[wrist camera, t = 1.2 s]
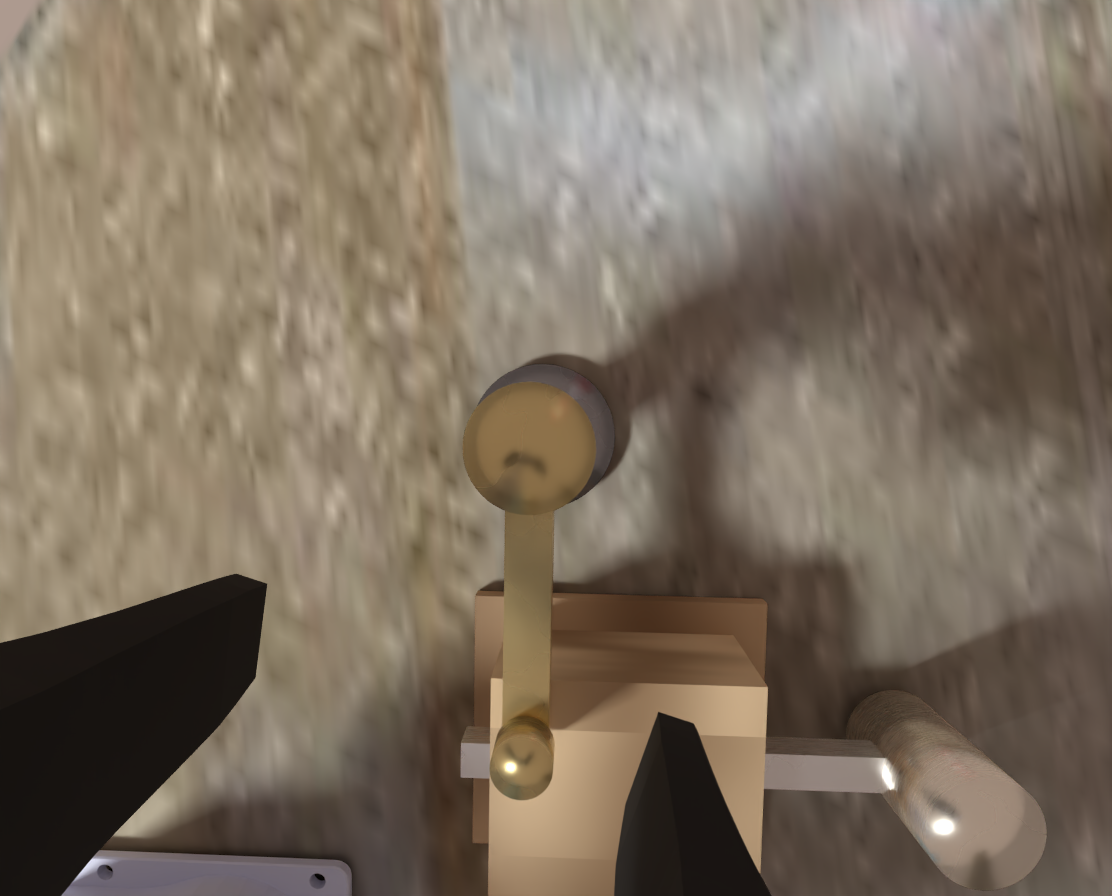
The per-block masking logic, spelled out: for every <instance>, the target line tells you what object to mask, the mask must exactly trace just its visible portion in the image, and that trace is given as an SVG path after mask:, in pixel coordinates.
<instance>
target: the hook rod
mask: <svg viewBox="0 0 1112 896" xmlns="http://www.w3.org/2000/svg"><path fill="white" fill-rule="evenodd" d="M846 739H847V740H846ZM846 739H818V738H789V737H766V748H765V772H764V789H781V790H808V791H835V792H862V793H881V795H882V796H883V797H884V798H885V800H886V801H887V802H888V804H889V805H890V806H891V808H892V809H893V810H894V811H895V813H896V814H897V815H898V817H899V818H900V819H901V821H902V822H903V823H904V824H905V826H906V827H907V828H908V830H909V831H910V832H911V834H912V835H913V836H914V837H915V839H916V840H917V841H918V843H919V844H920V845H921V847H922V848H923V849H924V850H925V852H926V853H927V854H928V856H929V857H930V858H931V860H932V861H933V862H934V863H935V865H936V866H937V867H938V869H939V870H940V871H941V872H942V873H943V874H944V875H945V876H946V877H947V878H949V879H950V880H952V881H953V882H955V883H957V884H959V885H961V886H963V887H966V888H969V889H974V890H982V891H989V890H998V889H1002V888H1005V887H1008V886H1011V885H1013V884H1015V883H1017V882H1018V881H1020V880H1022V879H1023V878H1024V877H1026V876H1027V875H1028V874H1029V873H1030V872H1031V871H1032V870H1033V869H1034V867H1035V866H1036V865H1037V863H1038V862H1039V860H1040V858H1041V856H1042V854H1043V852H1044V848H1045V845H1046V839H1047V828H1046V821H1045V818H1044V814H1043V812H1042V810H1041V808H1040V806H1039V805H1038V803H1037V802H1036V800H1035V799H1034V798H1033V797H1032V796H1031V795H1030V794H1029V793H1028V792H1027V791H1026V790H1025V789H1024V788H1022V787H1021V786H1020V785H1019V784H1018V783H1017V782H1016V781H1014V780H1013V779H1012V778H1011V777H1010V776H1009V775H1008V774H1006V773H1005V772H1004V771H1003V770H1002V769H1001V768H1000V767H998V766H997V765H996V764H995V763H994V762H993V761H991V760H990V759H989V758H988V757H987V756H986V755H985V754H983V753H982V752H981V751H980V750H979V749H978V748H977V747H975V746H974V745H973V744H972V743H971V742H970V741H969V740H967V739H966V738H965V737H964V736H963V735H962V734H960V733H959V732H958V731H957V730H956V729H955V728H954V727H952V726H951V725H950V724H949V723H948V722H947V721H946V720H944V719H943V718H942V717H941V716H940V715H939V714H937V713H936V712H935V711H934V710H933V709H932V708H931V707H929V706H928V705H927V704H926V703H925V702H924V701H923V700H921V699H920V698H918V697H917V696H915V695H913V694H911V693H908V692H905V691H901V690H885V691H880V692H877V693H875V694H872V695H870V696H868V697H867V698H865V699H864V700H863V701H861V702H860V703H859V704H858V705H857V706H856V708H855V709H854V710H853V712H852V714H851V716H850V718H849V720H848V724H847V730H846ZM489 767H490V727H473V726H467V727H466V730H465V733H464V736H463V739H462V742H461V778H486V779H490V771H489Z"/></svg>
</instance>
